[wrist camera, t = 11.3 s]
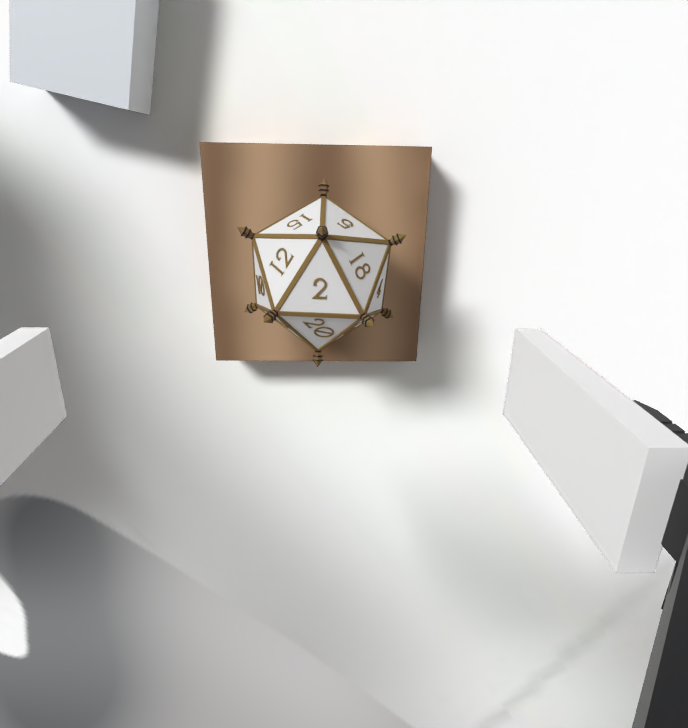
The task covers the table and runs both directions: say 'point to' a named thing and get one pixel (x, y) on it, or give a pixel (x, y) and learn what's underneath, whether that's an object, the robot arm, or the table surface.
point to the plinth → (290, 192)
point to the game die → (320, 272)
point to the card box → (86, 49)
